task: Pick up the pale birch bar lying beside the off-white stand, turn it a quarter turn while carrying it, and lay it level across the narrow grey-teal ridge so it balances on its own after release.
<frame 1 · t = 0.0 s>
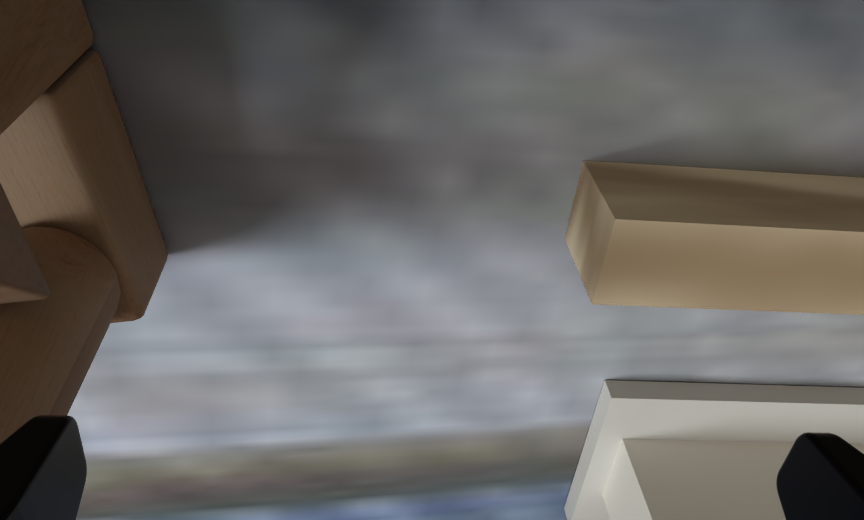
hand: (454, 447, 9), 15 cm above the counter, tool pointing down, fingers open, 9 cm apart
wooden block: (62, 107, 22), on the counter
birch bar: (846, 212, 26), on the counter
ridge stand: (800, 452, 32), on the counter
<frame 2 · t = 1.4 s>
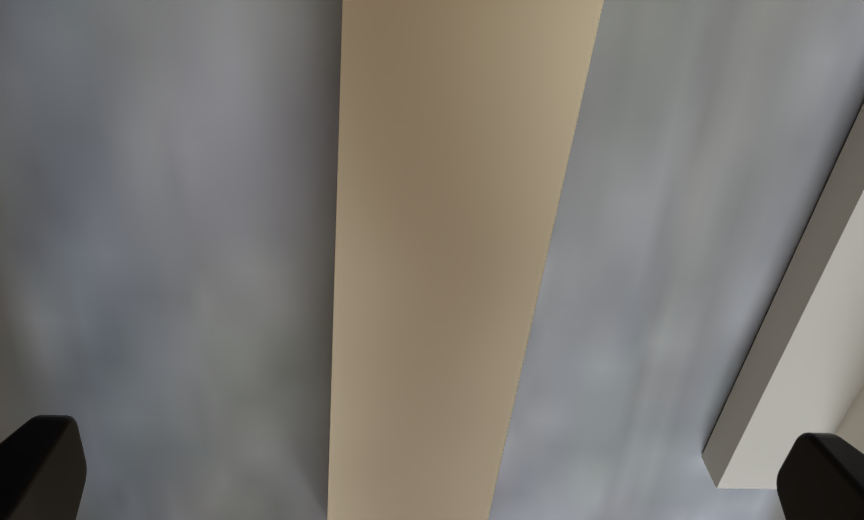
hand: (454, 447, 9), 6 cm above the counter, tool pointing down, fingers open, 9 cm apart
birch bar: (419, 194, 14), on the counter
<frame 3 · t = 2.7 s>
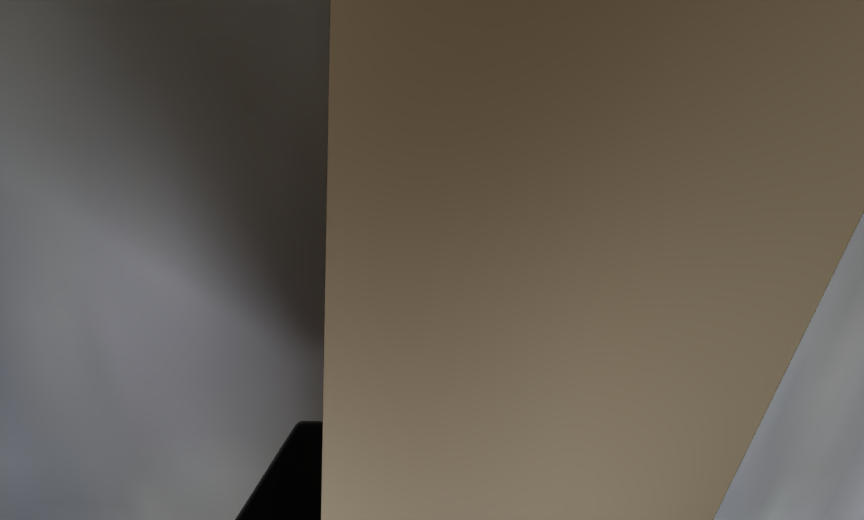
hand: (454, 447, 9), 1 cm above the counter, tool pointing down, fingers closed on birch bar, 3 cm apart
birch bar: (445, 378, 10), on the counter, touching gripper
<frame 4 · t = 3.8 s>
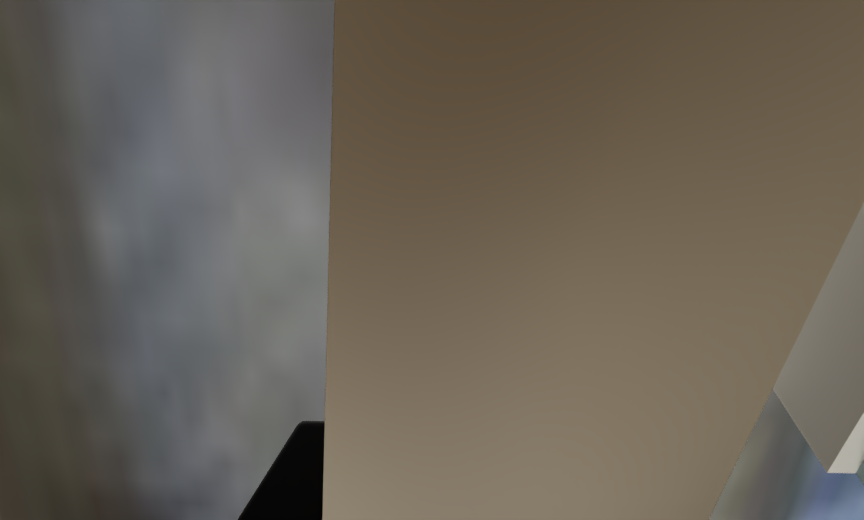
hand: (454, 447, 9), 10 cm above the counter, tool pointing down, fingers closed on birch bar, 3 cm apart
birch bar: (445, 375, 10), point 9 cm above the counter, touching gripper
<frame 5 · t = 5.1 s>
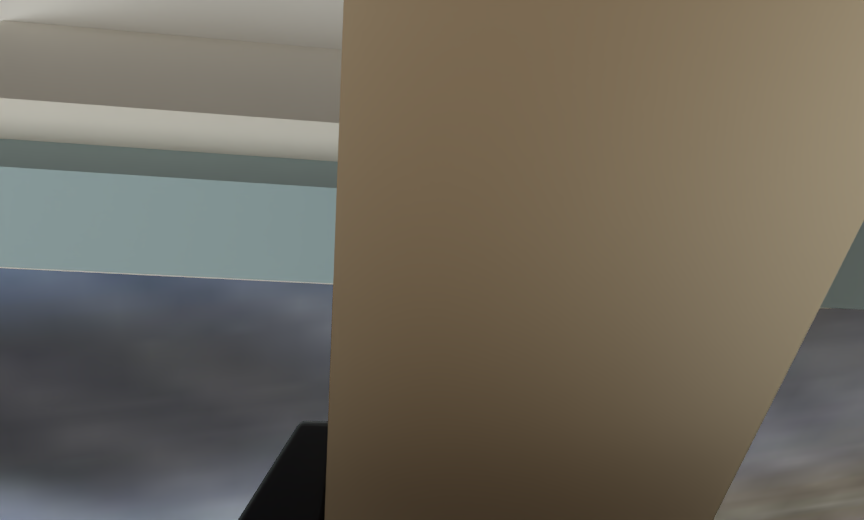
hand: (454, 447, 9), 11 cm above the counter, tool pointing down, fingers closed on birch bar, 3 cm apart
birch bar: (445, 376, 10), point 10 cm above the counter, touching gripper
ridge stand: (418, 112, 18), on the counter
when the fingers open (8 cm above the counter, at t = 6.8 s): birch bar stays where it is, resting on ridge stand.
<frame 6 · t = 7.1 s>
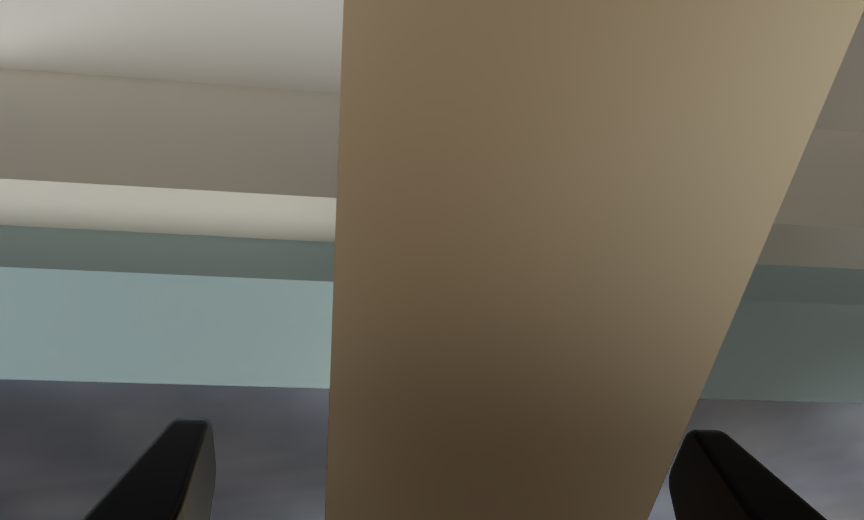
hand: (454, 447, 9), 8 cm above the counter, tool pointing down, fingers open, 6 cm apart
birch bar: (440, 341, 11), point 6 cm above the counter, touching ridge stand
ridge stand: (421, 160, 16), on the counter
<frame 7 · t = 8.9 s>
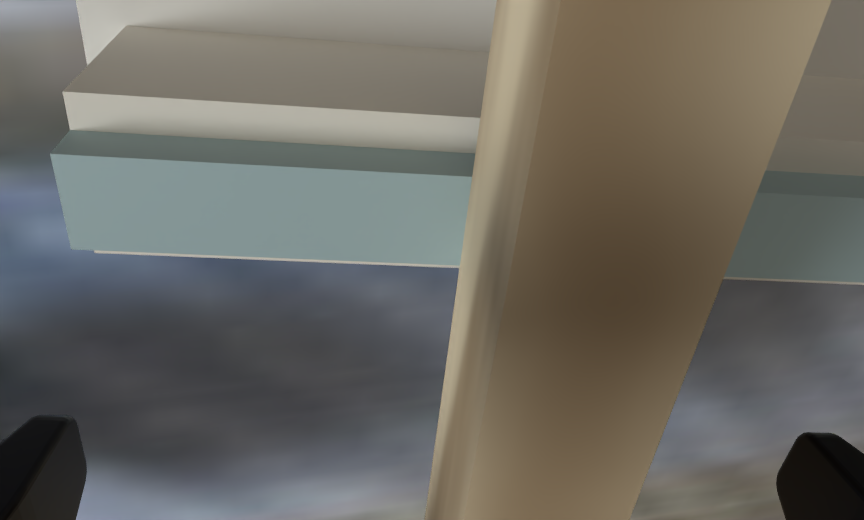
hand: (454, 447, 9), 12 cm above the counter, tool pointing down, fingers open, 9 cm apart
birch bar: (541, 226, 14), point 6 cm above the counter, touching ridge stand
ridge stand: (501, 107, 19), on the counter
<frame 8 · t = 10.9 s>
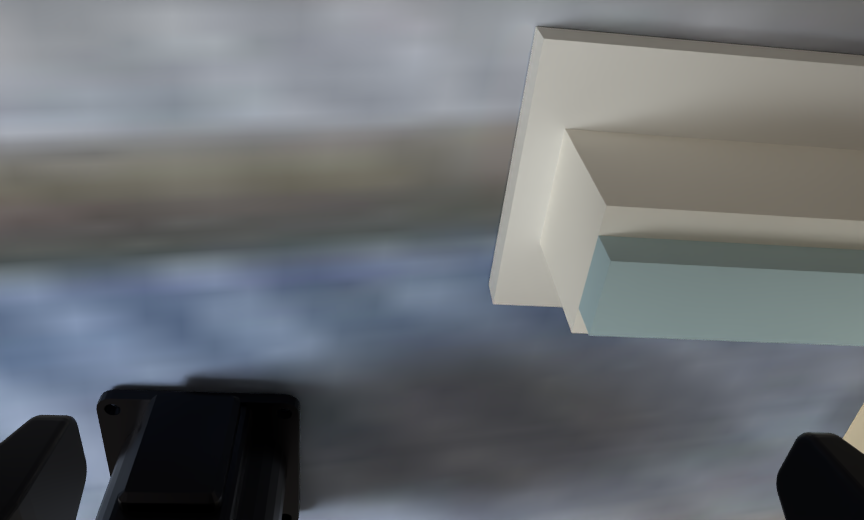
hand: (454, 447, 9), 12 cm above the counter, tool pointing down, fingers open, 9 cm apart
ridge stand: (839, 190, 22), on the counter
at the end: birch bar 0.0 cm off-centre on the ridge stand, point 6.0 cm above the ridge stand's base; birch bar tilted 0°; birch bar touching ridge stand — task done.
